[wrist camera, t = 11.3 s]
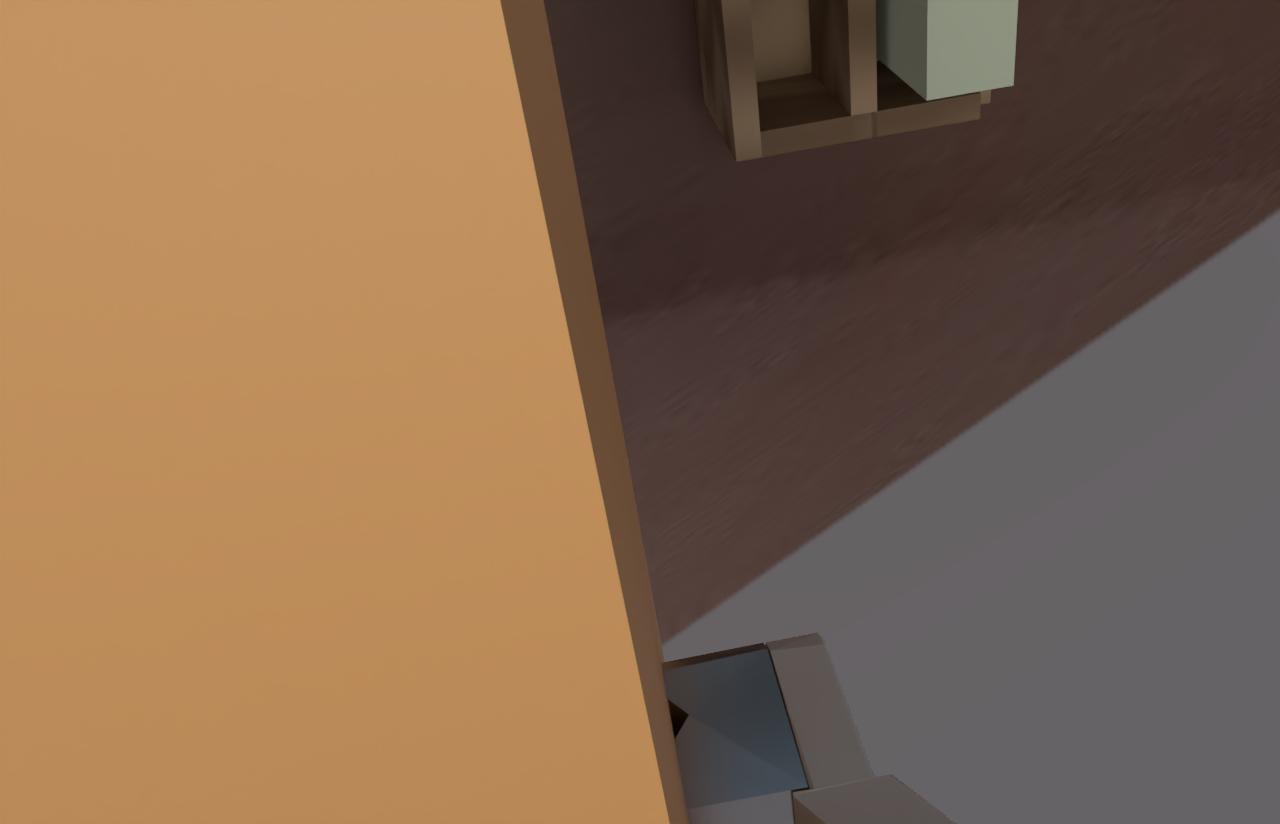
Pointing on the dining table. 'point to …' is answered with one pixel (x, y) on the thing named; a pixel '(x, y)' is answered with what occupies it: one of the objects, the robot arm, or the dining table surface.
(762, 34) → the rack
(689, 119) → the dining table surface
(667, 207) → the dining table surface
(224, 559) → the tall sheet
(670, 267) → the dining table surface
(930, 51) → the offcut sage
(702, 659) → the robot arm
